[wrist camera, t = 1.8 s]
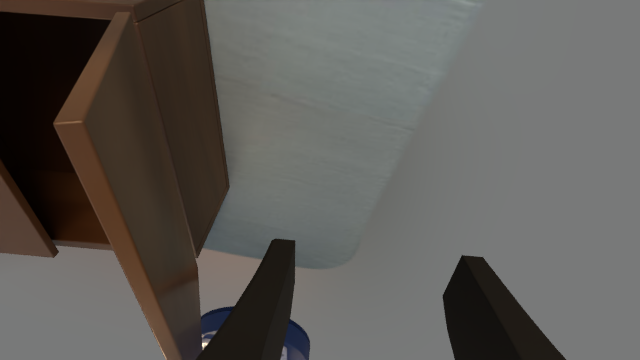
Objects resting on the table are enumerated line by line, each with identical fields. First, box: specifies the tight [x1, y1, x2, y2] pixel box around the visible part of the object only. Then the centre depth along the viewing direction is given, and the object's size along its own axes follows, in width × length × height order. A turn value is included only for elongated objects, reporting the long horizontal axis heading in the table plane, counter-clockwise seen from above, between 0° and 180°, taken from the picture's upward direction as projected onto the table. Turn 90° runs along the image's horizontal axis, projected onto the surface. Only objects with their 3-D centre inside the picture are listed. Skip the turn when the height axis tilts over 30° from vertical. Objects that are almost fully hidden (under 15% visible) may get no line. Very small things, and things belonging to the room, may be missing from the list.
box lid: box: [53, 12, 203, 360], centre depth 11 cm, size 7×12×1 cm
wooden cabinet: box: [0, 0, 229, 258], centre depth 16 cm, size 14×12×7 cm
